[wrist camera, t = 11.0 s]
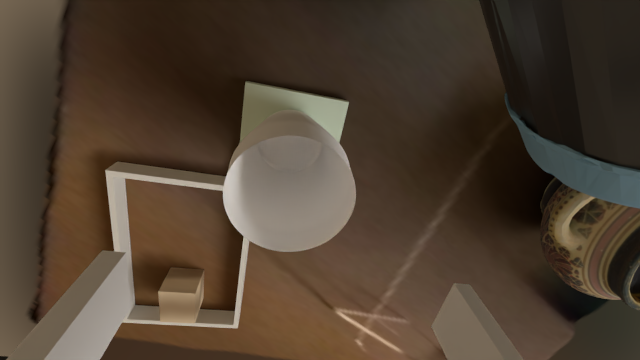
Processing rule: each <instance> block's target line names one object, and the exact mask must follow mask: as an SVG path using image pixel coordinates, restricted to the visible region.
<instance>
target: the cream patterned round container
mask: <svg viewBox="0 0 640 360" xmlns="http://www.w3.org/2000/svg"><path fill="white" fill-rule="evenodd" d="M540 206H541V211H542V214H543V217H542V221H541V229H540V233H541V245H542V249H543V253H544V255H545V257H546V259H547V261H548V263H549V265H550V266H551V268H552V269H553V271H554V272H555V273H556V274H557V275H558V276H559V277H560V278H561V279H562V280H563V281H564V282H565V283H567V284H568V285H570V286H571V287H573V288H575V289H577V290H578V291H581V292H583V293H585V294H588V295H591V296H595V297H599V298H603V299H613V300H617V299H622V300H623V302H625V303H626V304H627V305H629V306H630V307H632V308H634V309H636V310H640V208H634V207H629V206H624V205H620V204H616V203H612V202H608V201H605V200H601V199H598V198H595V197H592V196H589V195H587V194H584V193H582V192H579V191H577V190H575V189H572V188H570V187H568V186H567V185H565V184H563V183H562V182H561V181H560V180H559V179H557V178H556V177H555V178H554V179H553V180H552V181H551V182H550V183H549V185H548V186H547V188H546V189H545V191H544V194H543V197H542V200H541V203H540Z"/></svg>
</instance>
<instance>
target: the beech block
mask: <svg viewBox="0 0 640 360" xmlns="http://www.w3.org/2000/svg"><path fill="white" fill-rule="evenodd" d="M203 291H204V270H202V269H189V268H175V267H171V268H170V270H169V272H168V274H167V276H166V278H165V279H164V281H163V283H162V285H161V287H160V289H159V291H158V293H159V311H160V322H175V323H195V322H196V319H197V316H198V313H199V310H200V307H201V304H202V301H203Z"/></svg>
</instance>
